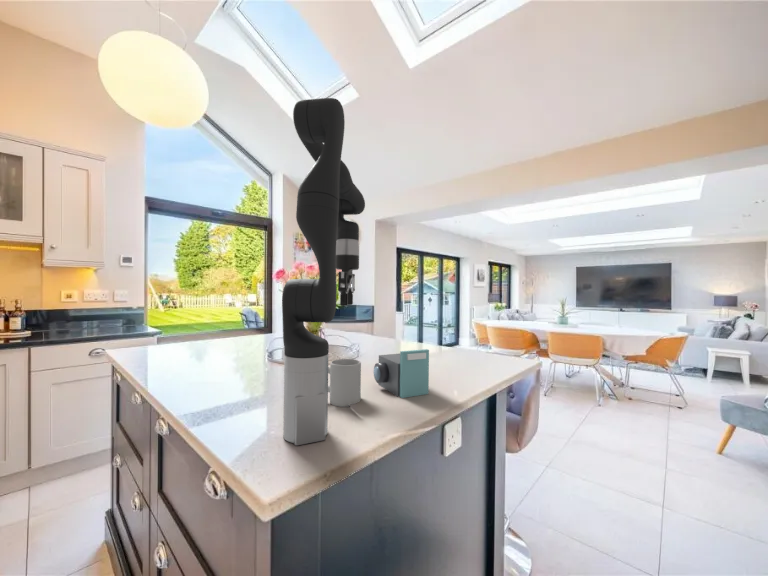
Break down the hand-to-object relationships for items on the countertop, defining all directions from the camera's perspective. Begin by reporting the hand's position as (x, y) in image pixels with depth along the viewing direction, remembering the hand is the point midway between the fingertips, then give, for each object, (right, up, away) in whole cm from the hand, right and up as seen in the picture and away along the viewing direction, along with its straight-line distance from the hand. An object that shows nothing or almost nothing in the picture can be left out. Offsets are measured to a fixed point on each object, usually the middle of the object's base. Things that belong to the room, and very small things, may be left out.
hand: (346, 305), depth 106 cm
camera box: (+16, -26, -4) cm, 31 cm away
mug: (-1, -26, -14) cm, 30 cm away
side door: (+21, -26, -10) cm, 34 cm away
